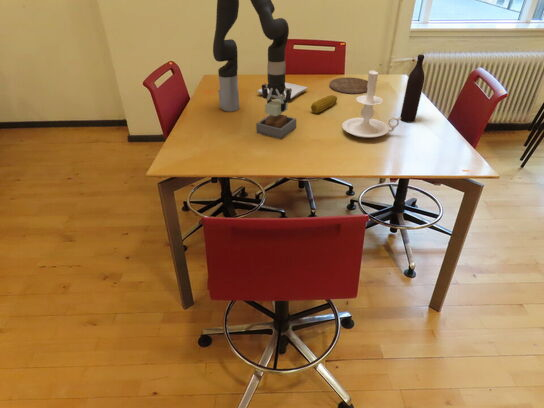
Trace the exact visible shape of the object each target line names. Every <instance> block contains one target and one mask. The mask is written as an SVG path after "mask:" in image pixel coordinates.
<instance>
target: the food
mask: <svg viewBox="0 0 544 408" xmlns="http://www.w3.org/2000/svg"><path fill="white" fill-rule="evenodd" d="M337 101H338V97H337V96H336V95H333V94H332V95H326V96H325V97H323V98H320V99H318V100H316V101H314V102H313V103H312V104H311V106H310V109H311V110H310V111H311V112H312V113H313V114H319V113H321V112H323V111H325V110H327V109H328V108H330V107H331V106H333V105H334V104H336V103H337Z"/></svg>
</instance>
